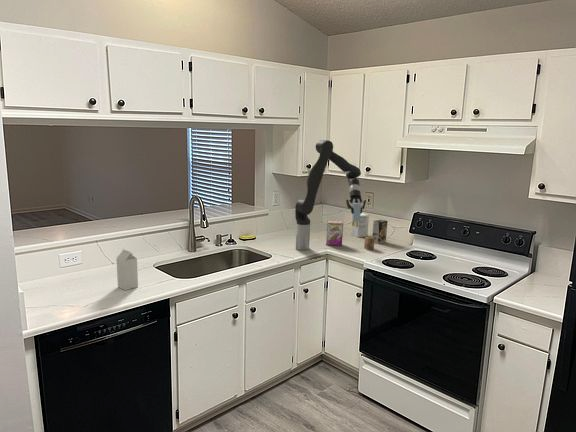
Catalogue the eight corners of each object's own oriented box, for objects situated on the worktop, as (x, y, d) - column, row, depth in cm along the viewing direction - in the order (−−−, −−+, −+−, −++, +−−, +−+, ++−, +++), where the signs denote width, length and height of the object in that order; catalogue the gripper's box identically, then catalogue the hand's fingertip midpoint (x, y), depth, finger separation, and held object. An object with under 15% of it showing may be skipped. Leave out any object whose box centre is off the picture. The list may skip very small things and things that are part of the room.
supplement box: (350, 234, 347) (352, 213, 344) (360, 233, 351) (362, 212, 348) (357, 237, 339) (359, 215, 335) (367, 236, 343) (369, 214, 339)
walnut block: (366, 250, 304) (367, 238, 302) (364, 248, 309) (365, 236, 307) (373, 249, 305) (374, 238, 303) (371, 247, 309) (371, 236, 308)
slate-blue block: (353, 221, 295) (354, 203, 293) (352, 220, 300) (353, 202, 297) (359, 221, 295) (360, 203, 293) (358, 220, 300) (359, 202, 297)
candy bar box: (326, 245, 313) (327, 222, 310) (326, 243, 318) (327, 220, 315) (342, 246, 312) (343, 223, 309) (342, 244, 317) (343, 221, 314)
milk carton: (124, 290, 218) (123, 253, 214) (117, 287, 222) (115, 250, 218) (138, 287, 223) (136, 250, 219) (130, 283, 227) (129, 247, 224)
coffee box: (378, 244, 320) (380, 222, 317) (371, 242, 325) (372, 220, 322) (386, 242, 326) (388, 220, 323) (379, 240, 331) (380, 219, 328)
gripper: (345, 189, 301) (346, 209, 291) (366, 189, 301) (368, 210, 292) (343, 195, 307) (345, 216, 298) (364, 196, 307) (366, 216, 298)
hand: (356, 213), depth 295 cm, fingers closed on slate-blue block, 4 cm apart
